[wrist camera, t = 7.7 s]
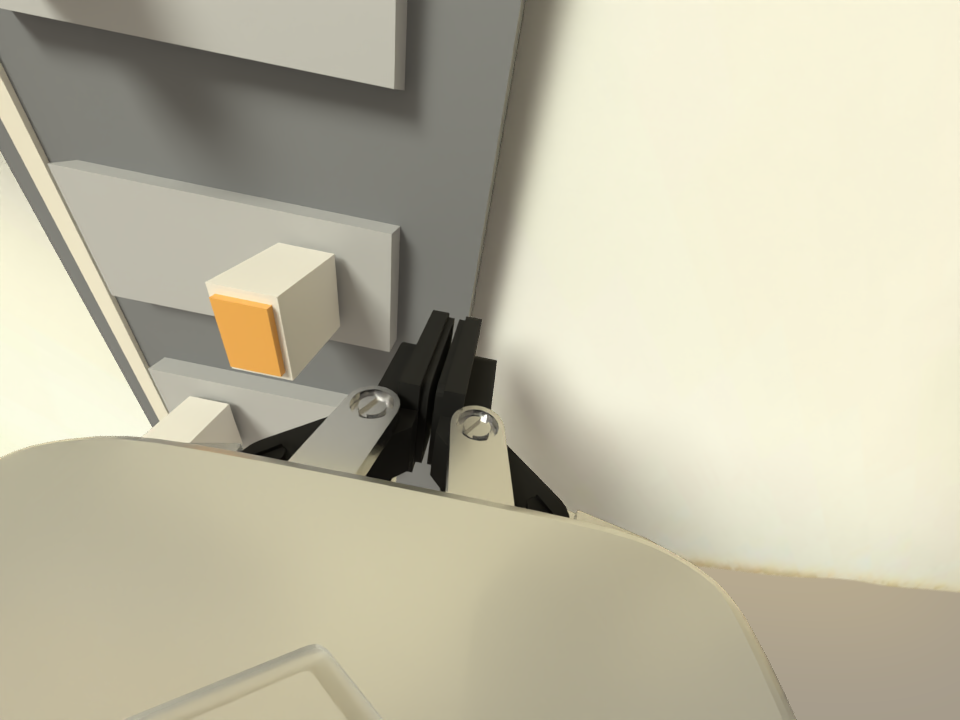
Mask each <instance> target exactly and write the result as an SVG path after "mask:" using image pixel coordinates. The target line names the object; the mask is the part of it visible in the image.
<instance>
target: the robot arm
mask: <svg viewBox="0 0 960 720" xmlns="http://www.w3.org/2000/svg"><path fill="white" fill-rule="evenodd" d="M454 321H455V318H451V317H449V313H447V312H442V311H437V310H433V311H432V313H431V315H430V317H429V319H428V321H427V324H426V326H425V328H424V330H423V332H422V334H421V336H420V338H419V340H418V342H417V344H412V343H407V342H402V343H401V344H400V346H399V348H398V350H397V352H396V353H395V355H394V357H393V359H392V361H391V362H390V364H389V366H388V368H387V370H386V372H385V373H384V375H383V377H382V379H381V381H380V382H379V384H378V386H366V387H361V388H358V389H356V390H354V391H352V392H351V393H350V394H349V395H347V397H346V398H345V399H344V400H343V401H342V402H341V403H340V404H339V405H338V406H337V407H336V409H335V410H334V411H333V412H332V413H331V414H330V415H329V416H328V417H325V418H322V419H319V420H316V421H313V422H311V423H308V424H305V425H302V426H299V427H296V428H293V429H290V430H287V431H284V432H282V433H279V434H276V435H273V436H270V437H267V438H264V439H261V440H259V441H257V442H255V443H252V444H250V445H249V446H248V447H246V448H242V445H241V443H185V442H178V441H170V440H163V439H156V438H144V437H130V436H95V437H85V438H74V439H64V440H58V441H52V442H47V443H42V444H38V445H33V446H29V447H26V448H23V449H20V450H17V451H14V452H11V453H9V454H7V455H5V456H2V457H0V720H797V719H796V717H795V715H794V713H793V711H792V708H791V706H790V704H789V702H788V700H787V697H786V695H785V693H784V691H783V689H782V687H781V685H780V683H779V681H778V679H777V676H776V674H775V672H774V670H773V668H772V666H771V664H770V662H769V660H768V658H767V656H766V654H765V652H764V651H763V649H762V647H761V645H760V643H759V641H758V640H757V638H756V636H755V634H754V632H753V630H752V629H751V627H750V625H749V623H748V622H747V620H746V618H745V617H744V615H743V614H742V612H741V611H740V609H739V608H738V606H737V605H736V603H735V602H734V601H733V600H732V598H731V597H730V596H729V595H728V594H727V592H726V591H725V590H724V589H723V588H722V587H721V586H720V585H719V584H718V583H717V582H716V581H715V580H713V579H712V578H711V577H710V576H708V575H707V574H706V573H704V572H703V571H702V570H700V569H699V568H697V567H696V566H695V565H693V564H692V563H690V562H689V561H687V560H685V559H683V558H681V557H680V556H678V555H676V554H674V553H673V552H671V551H669V550H667V549H666V548H663V547H661V546H659V545H658V544H656V543H654V542H652V541H651V540H649V539H647V538H644V537H642V536H639V535H637V534H635V533H632V532H630V531H627V530H625V529H623V528H620V527H618V526H615V525H613V524H611V523H608V522H606V521H603V520H601V519H599V518H596V517H594V516H591V515H589V514H587V513H584V512H582V511H579V510H578V511H577V512H576V514H575V513H573V512H571V511H568V510H567V509H566V506H565V505H564V504H563V503H562V501H561V500H560V499H559V498H558V497H557V496H556V495H555V494H554V493H553V492H552V491H551V490H550V489H549V487H548V486H547V485H546V484H545V483H544V482H543V481H542V480H541V479H540V478H539V477H538V476H537V475H536V474H535V473H534V472H533V471H532V470H531V469H530V468H529V467H528V466H527V465H526V464H525V463H524V462H523V461H522V460H521V459H520V458H519V457H518V456H517V455H516V454H515V453H514V452H513V451H512V450H511V449H510V448H509V447H508V446H507V443H506V436H505V428H504V424H503V421H502V420H501V418H500V417H499V416H498V415H497V414H496V413H495V412H493V411H492V410H491V404H492V396H493V388H494V380H495V372H496V363H497V360H492V359H487V358H482V357H477V356H475V353H476V348H477V343H478V338H479V333H480V327H481V322H482V319H477V318H472V317H467V316H466V319H465V320H461V319H459V322H458V325H457V328H456V331H455V334H454V337H453V340H452V335H453V329H454ZM451 342H452V343H451ZM430 434H431V435H430ZM429 438H430V443H429V451H428V459H427V464H429V465H431V471H430V476H431V477H432V478H433V480H434V481H435V482H436V484H437V485H438V486H439V491H437V490H432V489H427V488H422V487H417V486H412V485H407V484H402V483H397V482H396V476H398V475H400V474H402V473H404V472H406V471H407V472H412V471H413V468H414V465H415V462H419V463H422V461H423V458H424V454H425V451H426V448H427V444H428V441H429Z"/></svg>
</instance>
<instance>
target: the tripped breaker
mask: <svg viewBox="0 0 960 720" xmlns="http://www.w3.org/2000/svg"><path fill="white" fill-rule="evenodd" d="M205 284H206V287H207V290H208V293H209V299H210V303H211V306H212V309H213V312H214V315H215V319H216V322H217V325H218V328H219V331H220V334H221V338H222V341H223V344H224V347H225V350H226V353H227V357H228V360H229V363H230V366H231V367H232V368H233V369H238V370H243V371H248V372H253V373H258V374H263V375H267V376H272V377H277V378H282V379H287V380H292V381H293V380H294V379H295V378H296V377H297V376H298V374H299V373H300V372H301V371H302V370H303V369H304V367H305V366H306V365H307V364H308V363H309V362H310V361H311V359H312V358H313V357H314V356H315V355H316V354H317V353H318V351H319V350H320V349H321V348H322V347H323V346H324V344H325V343H326V342H327V341H328V340H329V339H330V338H331V336H332V335H333V334H334V333H335V332H336V331H337V330H338V328H339V327H340V317H339V305H338V292H337V279H336V266H335V254H332V253H327V252H323V251H318V250H313V249H308V248H303V247H298V246H293V245H288V244H284V243H277V244H275V245H273V246H271V247H269V248H268V249H266V250H264V251H262V252H260V253H258V254H256V255H255V256H253V257H251V258H249V259H247V260H245V261H243V262H242V263H240V264H238V265H236V266H234V267H232V268H230V269H229V270H227V271H225V272H223V273H221V274H219V275H217V276H216V277H214V278H212V279H210V280H208V281H206V282H205Z"/></svg>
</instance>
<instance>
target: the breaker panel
mask: <svg viewBox="0 0 960 720" xmlns="http://www.w3.org/2000/svg"><path fill="white" fill-rule="evenodd" d="M524 6H525V0H0V151H1V153H2V155H3V156H4V158H5V160H6V162H7V164H8V165H9V167H10V169H11V171H12V173H13V175H14V176H15V178H16V180H17V182H18V184H19V185H20V187H21V189H22V191H23V193H24V195H25V196H26V198H27V200H28V202H29V204H30V206H31V207H32V209H33V211H34V213H35V215H36V216H37V218H38V220H39V222H40V224H41V226H42V227H43V229H44V231H45V233H46V235H47V236H48V238H49V240H50V242H51V244H52V246H53V247H54V249H55V251H56V253H57V255H58V256H59V258H60V260H61V262H62V264H63V266H64V267H65V269H66V271H67V273H68V275H69V276H70V278H71V280H72V282H73V284H74V286H75V287H76V289H77V291H78V293H79V295H80V296H81V298H82V300H83V302H84V304H85V306H86V307H87V309H88V311H89V313H90V315H91V316H92V318H93V320H94V322H95V324H96V326H97V327H98V329H99V331H100V333H101V335H102V336H103V338H104V340H105V342H106V344H107V346H108V347H109V349H110V351H111V353H112V355H113V356H114V358H115V360H116V362H117V364H118V366H119V367H120V369H121V371H122V373H123V375H124V377H125V378H126V380H127V382H128V384H129V386H130V387H131V389H132V391H133V393H134V395H135V397H136V398H137V400H138V402H139V404H140V406H141V407H142V409H143V411H144V413H145V415H146V417H147V418H148V420H149V422H150V424H151V426H152V427H154V426H155V425H156V424H157V423H158V422H160V421H161V420H162V419H163V418H164V417H165V416H167V415H168V414H169V413H170V412H171V411H173V410H174V409H175V408H176V407H177V406H178V405H180V404H181V403H182V402H183V401H184V400H186V399H187V398H188V397H189V396H192V397H197V398H202V399H207V400H212V401H217V402H222V403H226V404H229V405H230V408H231V411H232V414H233V417H234V420H235V423H236V426H237V429H238V431H239V434H240V437H241V440H242V443H243V444H242V448H246V447H248V446H249V445H250V444H252V443H255V442H257V441H259V440H261V439H264V438H267V437H270V436H273V435H276V434H279V433H282V432H284V431H287V430H290V429H293V428H296V427H299V426H302V425H305V424H308V423H311V422H313V421H316V420H319V419H322V418H325V417H328V416H329V415H330V414H331V413H332V412H333V411H334V410H335V409H336V407H337V406H338V405H339V404H340V403H341V402H342V401H343V400H344V399H345V398H346V397H347V395H349V394H350V393H351V392H352V391H354V390H356V389H358V388H361V387H366V386H378V384H379V382H380V381H381V379H382V377H383V375H384V373H385V372H386V370H387V368H388V366H389V364H390V362H391V361H392V359H393V357H394V355H395V353H396V352H397V350H398V348H399V346H400V344H401V343H402V342H407V343H412V344H417V342H418V340H419V338H420V336H421V334H422V332H423V330H424V328H425V326H426V324H427V321H428V319H429V317H430V315H431V313H432V311H433V310H437V311H442V312H447V313H449V317H451V318H455V321H454V329H453V335H452V340H453V337H454V334H455V331H456V328H457V325H458V322H459V319H461V320H465V319H466V316H467V317H471V315H472V309H473V303H474V297H475V291H476V286H477V280H478V274H479V268H480V262H481V257H482V251H483V245H484V239H485V233H486V227H487V222H488V216H489V210H490V204H491V198H492V193H493V187H494V181H495V175H496V169H497V163H498V158H499V152H500V146H501V140H502V134H503V129H504V123H505V117H506V111H507V105H508V99H509V94H510V88H511V82H512V76H513V70H514V64H515V59H516V53H517V47H518V41H519V35H520V30H521V24H522V18H523V12H524ZM277 243H284V244H288V245H293V246H298V247H303V248H308V249H313V250H318V251H323V252H327V253H332V254H335V266H336V279H337V292H338V305H339V317H340V327H339V328H338V330H337V331H336V332H335V333H334V334H333V335H332V336H331V338H330V339H329V340H328V341H327V342H326V343H325V344H324V346H323V347H322V348H321V349H320V350H319V351H318V353H317V354H316V355H315V356H314V357H313V358H312V359H311V361H310V362H309V363H308V364H307V365H306V366H305V367H304V369H303V370H302V371H301V372H300V373H299V374H298V376H297V377H296V378H295V379H294V380H293V381H292V380H287V379H282V378H277V377H272V376H267V375H263V374H258V373H253V372H248V371H243V370H238V369H233V368H232V367H231V366H230V363H229V360H228V357H227V353H226V350H225V347H224V344H223V341H222V338H221V334H220V331H219V328H218V325H217V322H216V319H215V315H214V312H213V309H212V306H211V303H210V299H209V293H208V290H207V287H206V284H205V282H206V281H208V280H210V279H212V278H214V277H216V276H217V275H219V274H221V273H223V272H225V271H227V270H229V269H230V268H232V267H234V266H236V265H238V264H240V263H242V262H243V261H245V260H247V259H249V258H251V257H253V256H255V255H256V254H258V253H260V252H262V251H264V250H266V249H268V248H269V247H271V246H273V245H275V244H277ZM451 343H452V342H451ZM430 435H431V434H430ZM429 443H430V438H429V441H428V444H427V448H426V451H425V454H424V458H423V461H422V463H419V462H415V465H414V468H413V471H412V472H407V471H406V472H404V473H402V474H400V475H398V476H396V482H397V483H402V484H407V485H412V486H417V487H422V488H427V489H432V490H437V491H439V486H438V485H437V484H436V482H435V481H434V480H433V478H432V477H431V476H430V471H431V465H429V464H427V459H428V451H429Z"/></svg>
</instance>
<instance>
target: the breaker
mask: <svg viewBox="0 0 960 720" xmlns="http://www.w3.org/2000/svg"><path fill="white" fill-rule="evenodd" d="M142 437H144V438H156V439H163V440H170V441H178V442H185V443H241V445H242V444H243V443H242V440H241V437H240V434H239V431H238V429H237V426H236V423H235V420H234V417H233V414H232V411H231V408H230V405H229V404H226V403H222V402H217V401H212V400H207V399H202V398H197V397H192V396H189V397H188V398H187V399H186V400H184V401H183V402H182V403H181V404H180V405H178V406H177V407H176V408H175V409H174V410H173V411H171V412H170V413H169V414H168V415H167V416H165V417H164V418H163V419H162V420H161V421H160V422H158V423H157V424H156V425H155V426H154V427H153V428H151V429H150V430H149V431H148V432H147V433H145V434H144V435H143V436H142Z"/></svg>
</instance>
